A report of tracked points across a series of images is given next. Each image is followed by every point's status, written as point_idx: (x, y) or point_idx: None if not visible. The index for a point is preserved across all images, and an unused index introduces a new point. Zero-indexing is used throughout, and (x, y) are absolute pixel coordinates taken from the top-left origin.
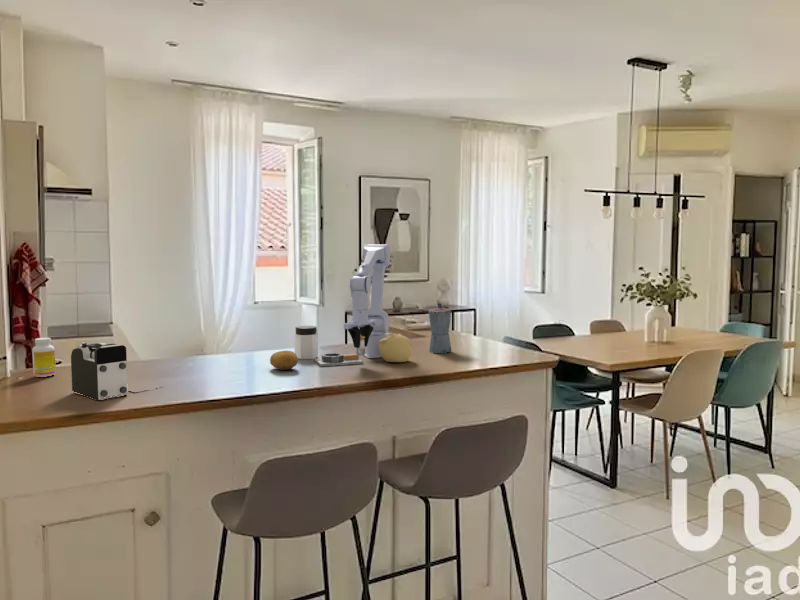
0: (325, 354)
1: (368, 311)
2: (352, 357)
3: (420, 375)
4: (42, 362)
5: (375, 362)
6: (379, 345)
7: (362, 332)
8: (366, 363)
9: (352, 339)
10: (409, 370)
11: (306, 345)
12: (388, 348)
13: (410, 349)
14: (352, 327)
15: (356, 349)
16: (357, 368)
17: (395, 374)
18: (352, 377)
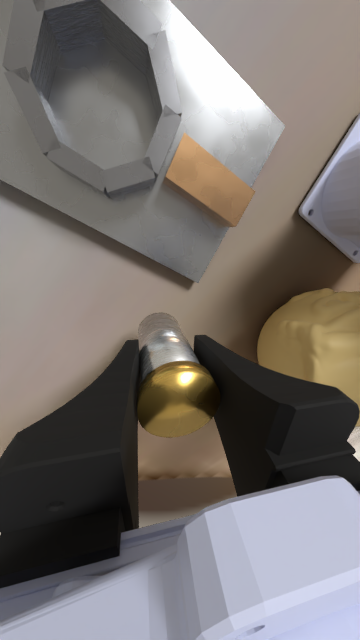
0: (60, 6)
1: None
2: (203, 207)
3: (180, 472)
4: None
5: (246, 292)
6: (299, 334)
7: (237, 403)
8: (211, 282)
9: (108, 369)
10: (207, 430)
11: None
12: None
13: None
14: (10, 590)
15: (142, 334)
16: (119, 331)
17: (147, 446)
18: (12, 424)
